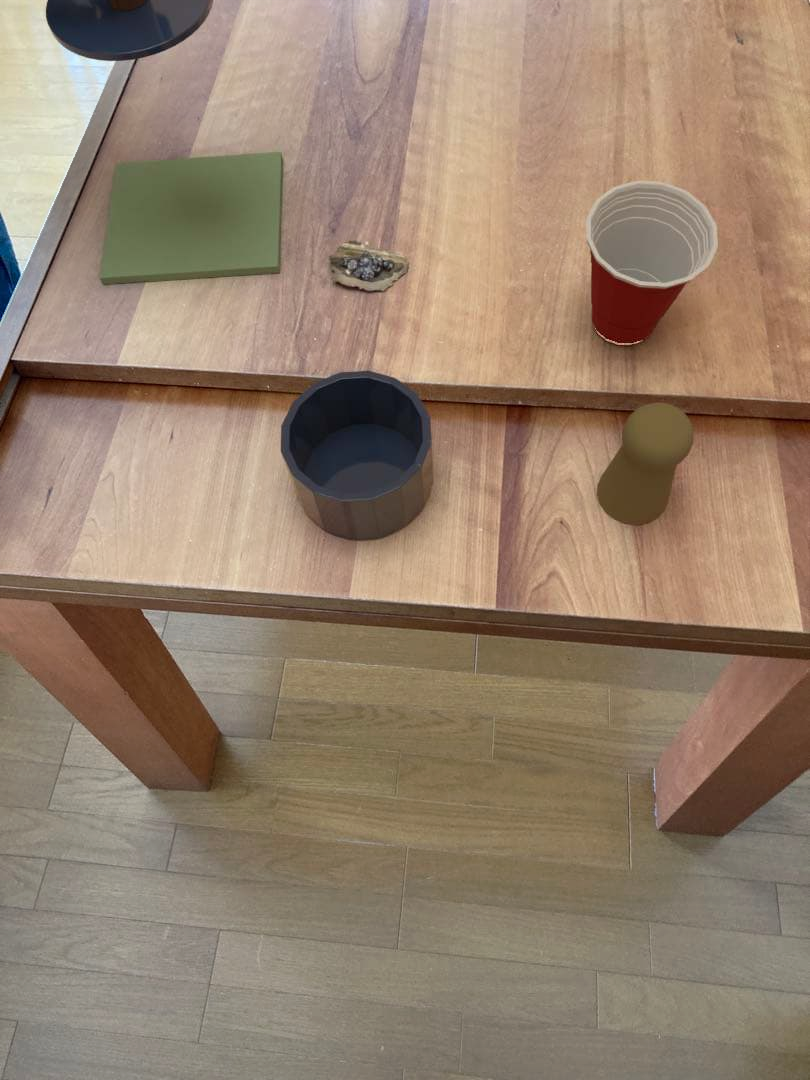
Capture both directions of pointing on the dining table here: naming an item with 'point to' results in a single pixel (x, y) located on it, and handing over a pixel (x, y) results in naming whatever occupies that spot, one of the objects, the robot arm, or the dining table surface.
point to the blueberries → (366, 266)
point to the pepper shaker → (645, 464)
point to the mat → (194, 218)
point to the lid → (124, 26)
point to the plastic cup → (644, 254)
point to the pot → (359, 454)
